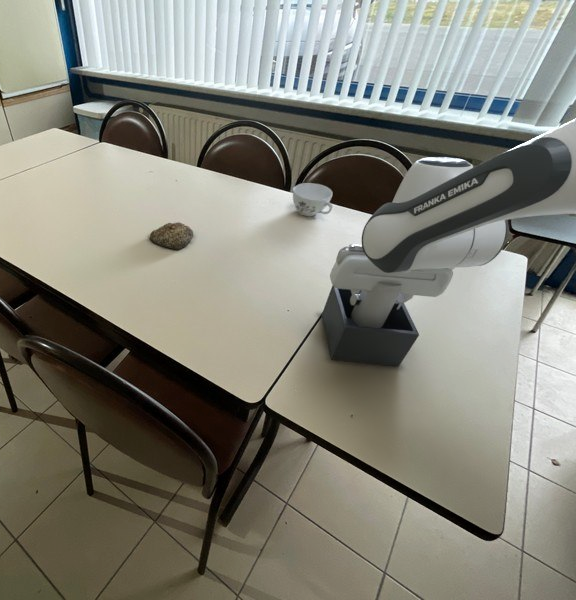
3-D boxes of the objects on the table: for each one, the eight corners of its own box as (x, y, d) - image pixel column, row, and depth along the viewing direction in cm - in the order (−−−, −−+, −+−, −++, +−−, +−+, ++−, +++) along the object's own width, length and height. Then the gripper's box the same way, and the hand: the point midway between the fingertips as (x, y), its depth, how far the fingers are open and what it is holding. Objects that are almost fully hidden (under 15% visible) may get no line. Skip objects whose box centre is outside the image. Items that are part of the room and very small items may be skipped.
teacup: (280, 209, 127) (285, 187, 122) (306, 200, 132) (312, 179, 127) (313, 228, 118) (319, 205, 112) (339, 218, 122) (347, 196, 117)
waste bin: (398, 367, 76) (419, 334, 69) (331, 359, 77) (345, 327, 71) (380, 321, 86) (397, 289, 79) (321, 315, 87) (332, 283, 81)
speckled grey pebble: (176, 254, 107) (176, 239, 103) (144, 240, 112) (143, 226, 109) (201, 235, 114) (202, 221, 111) (170, 223, 120) (169, 209, 117)
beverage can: (349, 327, 76) (369, 282, 68) (350, 308, 81) (369, 264, 73) (382, 335, 75) (406, 290, 67) (381, 315, 79) (404, 271, 71)
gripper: (345, 253, 64) (323, 310, 73) (469, 263, 62) (431, 321, 71) (338, 234, 69) (319, 290, 78) (454, 243, 67) (420, 299, 76)
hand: (373, 305), depth 75 cm, fingers closed on beverage can, 6 cm apart
